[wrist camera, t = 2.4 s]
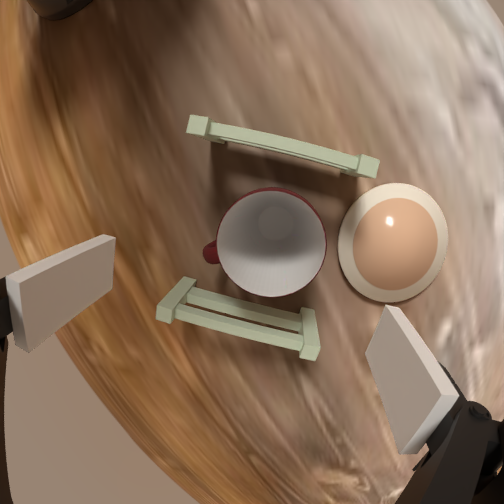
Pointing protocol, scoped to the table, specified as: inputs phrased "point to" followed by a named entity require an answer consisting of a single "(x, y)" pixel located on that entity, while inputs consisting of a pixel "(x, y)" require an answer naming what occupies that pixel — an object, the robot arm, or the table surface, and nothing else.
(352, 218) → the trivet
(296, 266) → the mug
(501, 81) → the table surface
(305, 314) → the cradle
